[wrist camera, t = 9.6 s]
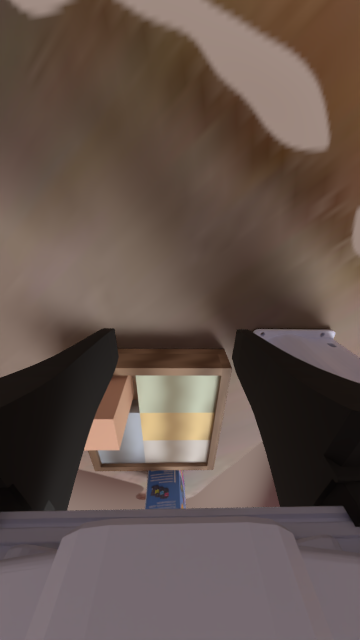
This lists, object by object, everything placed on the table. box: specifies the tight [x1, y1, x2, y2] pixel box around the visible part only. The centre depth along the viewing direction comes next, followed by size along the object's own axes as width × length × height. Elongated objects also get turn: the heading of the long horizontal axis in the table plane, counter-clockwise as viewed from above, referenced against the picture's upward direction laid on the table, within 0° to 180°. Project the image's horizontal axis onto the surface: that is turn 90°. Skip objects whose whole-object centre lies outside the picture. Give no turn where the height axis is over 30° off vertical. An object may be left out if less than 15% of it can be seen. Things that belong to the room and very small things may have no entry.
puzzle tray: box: [88, 349, 232, 471], centre depth 25 cm, size 18×20×4 cm
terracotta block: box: [84, 375, 134, 450], centre depth 20 cm, size 5×5×7 cm
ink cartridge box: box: [145, 470, 186, 509], centre depth 28 cm, size 10×6×14 cm, turn 7°
